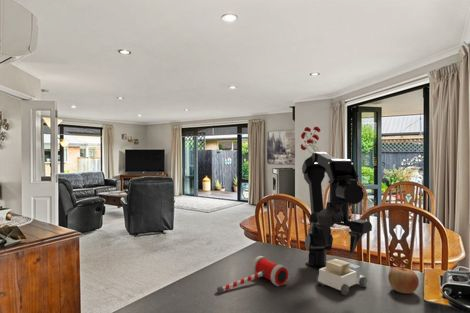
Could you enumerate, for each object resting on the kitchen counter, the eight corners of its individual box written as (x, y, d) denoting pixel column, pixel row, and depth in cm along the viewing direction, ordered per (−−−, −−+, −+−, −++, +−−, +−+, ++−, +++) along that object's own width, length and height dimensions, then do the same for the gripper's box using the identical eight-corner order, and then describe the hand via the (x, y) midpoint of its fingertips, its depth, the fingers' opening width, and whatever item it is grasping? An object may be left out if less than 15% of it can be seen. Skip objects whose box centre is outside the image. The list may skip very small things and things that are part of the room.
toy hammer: (229, 302, 84) (229, 279, 84) (208, 287, 94) (209, 266, 94) (289, 284, 97) (289, 264, 97) (265, 272, 106) (265, 254, 106)
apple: (381, 288, 94) (382, 262, 94) (399, 284, 97) (400, 259, 97) (405, 299, 87) (406, 271, 87) (424, 295, 90) (424, 268, 90)
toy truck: (339, 275, 103) (339, 259, 103) (366, 285, 96) (367, 267, 96) (315, 285, 95) (315, 267, 95) (343, 296, 88) (343, 277, 88)
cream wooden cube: (335, 273, 98) (335, 258, 98) (349, 279, 94) (349, 263, 94) (325, 277, 95) (326, 261, 95) (339, 283, 91) (340, 266, 91)
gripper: (298, 197, 97) (297, 246, 97) (352, 205, 82) (351, 263, 82) (320, 195, 104) (319, 240, 103) (373, 202, 89) (372, 255, 89)
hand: (338, 249), depth 94 cm, fingers open, 9 cm apart
